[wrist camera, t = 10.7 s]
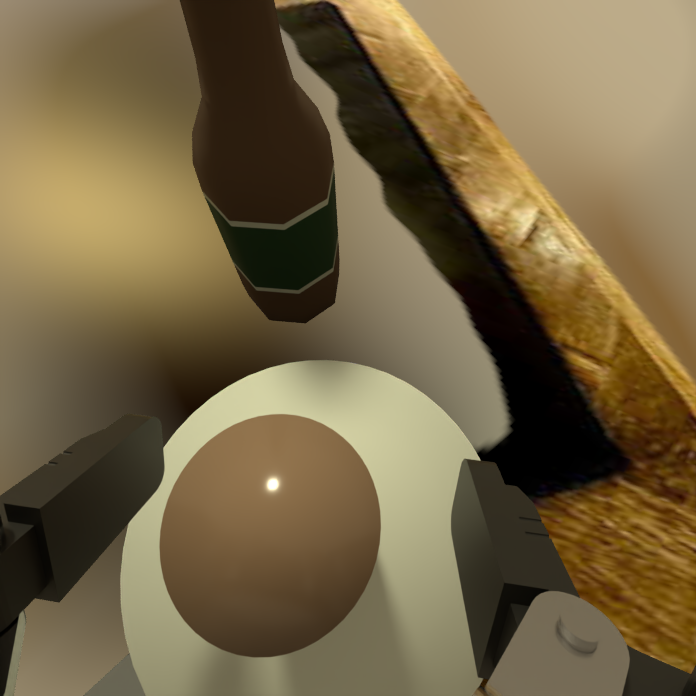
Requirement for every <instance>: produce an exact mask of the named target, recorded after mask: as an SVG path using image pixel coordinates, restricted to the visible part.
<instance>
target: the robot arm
mask: <svg viewBox="0 0 696 696" xmlns="http://www.w3.org/2000/svg"><path fill="white" fill-rule="evenodd" d="M164 470H165V464H164V452H163V440H162V427H161V422H160V420H159V419H158V418H156V417H151V416H144V415H136V414H126V415H124V416H122V417H121V418H120V419H118V420H117V421H116V422H114V423H113V424H111V425H110V426H109V427H107V428H106V429H103V430H101V431H99V432H96V433H94V434H92V435H89V436H87V437H84V438H82V439H80V440H79V441H77V442H76V443H75V444H73V445H72V446H70V447H69V448H67V449H66V450H65V451H64V453H63V454H59V455H58V456H56V457H55V458H53V459H52V460H50V461H49V464H48V465H47V464H45V465H43V466H42V467H40V468H39V469H38V470H36V471H35V472H33V473H32V474H30V475H29V476H28V477H26V478H25V479H23V480H22V481H21V482H19V483H18V484H16V485H15V486H13V487H12V488H11V489H9V490H8V491H6V492H5V493H3V494H2V495H1V496H0V696H14V690H15V685H16V679H17V673H18V667H19V660H20V655H21V648H22V642H23V637H24V630H25V625H26V615H25V611H24V609H25V608H26V607H27V606H28V605H29V604H30V603H31V601H33V599H35V598H37V599H43V600H48V601H54V602H60V601H61V600H62V599H63V598H64V597H65V595H66V594H67V593H68V592H69V591H70V589H71V588H72V587H73V586H74V585H75V584H76V583H77V582H78V580H79V579H80V578H81V577H82V576H83V575H84V573H85V572H86V571H87V570H88V569H89V568H90V567H91V565H92V564H93V563H94V562H95V561H96V560H97V559H98V557H99V556H100V555H101V554H102V553H103V552H104V551H105V549H106V548H107V547H108V546H109V545H110V544H111V543H112V541H113V540H114V539H115V538H116V537H117V536H118V535H119V533H120V532H121V531H122V530H123V529H124V528H125V526H126V525H127V524H128V523H129V522H130V521H131V520H132V518H133V517H134V516H135V515H136V514H137V513H138V512H139V510H140V509H141V508H142V507H143V506H144V505H145V504H146V502H147V501H148V500H149V499H150V498H151V497H152V496H153V494H154V493H155V492H156V491H157V489H158V488H159V486H160V484H161V482H162V479H163V476H164ZM451 535H452V540H453V546H454V551H455V557H456V562H457V568H458V573H459V578H460V584H461V589H462V595H463V600H464V605H465V611H466V616H467V622H468V627H469V633H470V638H471V643H472V649H473V654H474V660H475V665H476V670H477V676H478V678H484V679H489V681H488V682H487V684H486V686H485V687H484V688H483V687H482V686H479V687H478V688H477V689H476V691H475V692H474V693H473V695H472V696H696V666H695V668H694V670H693V672H692V674H689V673H687V672H684V671H682V670H680V669H678V668H675V667H673V666H671V665H668V664H666V663H664V662H662V661H659V660H657V659H655V658H652V657H650V656H648V655H646V654H643V653H641V652H639V651H637V650H635V649H633V648H631V647H629V646H628V645H626V643H625V641H624V639H623V637H622V635H621V634H620V632H619V631H618V629H617V628H616V627H615V626H614V624H613V623H612V622H611V621H610V620H609V619H608V618H607V617H606V616H605V615H604V614H603V613H602V612H600V611H599V610H598V609H597V608H595V607H594V606H592V605H591V604H589V603H588V602H586V601H584V600H582V599H581V598H580V597H579V595H578V593H577V591H576V589H575V587H574V585H573V583H572V581H571V579H570V577H569V575H568V573H567V571H566V569H565V567H564V564H563V562H562V560H561V558H560V556H559V554H558V552H557V550H556V548H555V546H554V544H553V542H552V540H551V539H549V534H548V532H547V530H546V528H545V526H544V524H543V523H541V518H540V516H539V514H538V512H537V510H536V508H535V506H534V504H533V502H532V501H531V500H530V499H529V498H528V497H527V496H526V495H525V494H524V493H523V492H522V491H521V490H520V489H519V488H518V487H517V486H510V485H505V484H504V481H503V479H502V477H501V474H500V472H499V469H498V467H497V465H496V464H495V463H494V462H486V461H479V460H471V459H463V461H462V463H461V467H460V472H459V477H458V482H457V486H456V491H455V496H454V501H453V506H452V512H451Z"/></svg>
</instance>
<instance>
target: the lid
mask: <svg viewBox="0 0 696 696" xmlns="http://www.w3.org/2000/svg"><path fill="white" fill-rule="evenodd" d="M163 452H164V464H165V470H164V476H163V479H162V482H161V484H160V486H159V488H158V489H157V491H156V492H155V493H154V494H153V496H152V497H151V498H150V499H149V500H148V501H147V502H146V504H145V505H144V506H143V507H142V508H141V509H140V510H139V512H138V513H137V514H136V515H135V516H134V517H133V518H132V520H131V521H130V522H129V525H128V530H127V535H126V539H125V543H124V548H123V557H122V567H121V577H120V578H121V579H120V581H121V611H122V618H123V625H124V632H125V638H126V642H127V645H128V649H129V653H130V656H131V660H132V664H133V667H134V669H135V672H136V674H137V676H138V679H139V681H140V683H141V686H142V688H143V690H144V693H145V695H146V696H472V695H473V693H474V692H475V691H476V689H477V688H478V687H479V686H480V684H481V682H482V680H483V678H478V676H477V670H476V665H475V660H474V654H473V649H472V643H471V638H470V633H469V627H468V622H467V616H466V611H465V605H464V600H463V595H462V589H461V584H460V578H459V573H458V568H457V562H456V557H455V551H454V546H453V540H452V535H451V512H452V506H453V501H454V496H455V491H456V486H457V482H458V477H459V472H460V467H461V463H462V461H463V459H471V460H479V461H481V460H480V458H479V457H478V455H477V453H476V451H475V450H474V448H473V446H472V445H471V443H470V442H469V441H468V439H467V438H466V436H465V435H464V434H463V433H462V431H461V430H460V428H459V427H458V426H457V424H455V422H454V421H453V420H452V419H451V418H450V417H449V416H448V415H447V414H446V413H445V412H444V411H443V410H442V409H441V408H440V407H439V406H438V405H436V404H435V403H434V402H433V401H432V400H431V399H430V398H428V397H427V396H426V395H425V394H423V393H422V392H420V391H419V390H417V389H415V388H414V387H413V386H411V385H410V384H408V383H406V382H404V381H402V380H400V379H398V378H396V377H394V376H392V375H390V374H388V373H385V372H383V371H380V370H377V369H374V368H371V367H369V366H364V365H360V364H355V363H351V362H343V361H334V360H307V361H300V362H293V363H286V364H283V365H279V366H275V367H271V368H267V369H265V370H262V371H260V372H258V373H255V374H252V375H249V376H247V377H245V378H243V379H241V380H240V381H238V382H236V383H234V384H232V385H230V386H228V387H227V388H225V389H224V390H222V391H221V392H219V393H218V394H216V395H215V396H213V397H212V398H210V399H209V400H208V401H207V402H206V403H205V404H203V405H202V406H201V407H200V408H199V409H197V410H196V411H195V412H194V413H193V414H192V415H191V416H190V417H189V418H188V419H187V420H186V421H185V422H184V423H183V424H182V425H181V427H180V428H179V429H178V430H177V431H176V432H175V433H174V435H173V436H172V437H171V439H170V440H169V441H168V443H167V444H166V445H165V447H164V448H163Z"/></svg>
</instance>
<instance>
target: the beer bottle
mask: <svg viewBox="0 0 696 696" xmlns="http://www.w3.org/2000/svg"><path fill="white" fill-rule="evenodd" d="M180 2H181V6H182V10H183V14H184V17H185V21H186V25H187V28H188V32H189V36H190V39H191V43H192V47H193V50H194V54H195V58H196V64H197V70H198V76H199V82H200V88H201V94H202V98H201V102H200V106H199V109H198V113H197V117H196V120H195V124H194V128H193V132H192V148H193V149H192V150H193V165H194V168H195V171H196V174H197V177H198V180H199V183H200V186H201V189H202V192H203V194H204V196H205V199H206V201H207V203H208V205H209V208H210V210H211V212H212V215H213V217H214V219H215V222H216V224H217V226H218V228H219V231H220V233H221V235H222V238H223V240H224V242H225V244H226V247H227V249H228V251H229V254H230V256H231V258H232V260H233V263H234V265H235V268H236V270H237V272H238V274H239V277H240V279H241V281H242V284H243V285H244V287H245V289H246V291H247V293H248V295H249V296H250V297H251V299H252V300H253V301H254V302H255V303H256V305H257V306H258V307H259V308H260V309H261V311H262V312H263V313H264V314H265V315H266V317H267V318H268V319H269V320H273V321H285V322H297V323H307V322H308V321H309V320H311V319H312V318H314V317H315V316H317V315H318V314H320V313H321V312H323V311H324V310H326V309H327V308H328V307H330V306H332V305H333V304H334V303H335V298H336V291H337V284H338V277H339V244H338V227H337V209H336V194H335V193H336V192H335V174H334V160H333V153H332V146H331V140H330V134H329V132H328V129H327V127H326V125H325V123H324V121H323V119H322V117H321V115H320V112H319V110H318V108H317V107H316V105H315V104H314V103H313V102H312V101H311V100H310V98H309V97H308V96H307V95H306V93H305V92H304V91H303V90H302V89H301V87H300V86H299V85H298V84H297V83H296V81H295V80H294V78H293V75H292V72H291V69H290V65H289V62H288V59H287V56H286V53H285V49H284V46H283V43H282V38H281V33H280V28H279V23H278V18H277V13H276V8H275V3H274V0H180Z"/></svg>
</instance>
